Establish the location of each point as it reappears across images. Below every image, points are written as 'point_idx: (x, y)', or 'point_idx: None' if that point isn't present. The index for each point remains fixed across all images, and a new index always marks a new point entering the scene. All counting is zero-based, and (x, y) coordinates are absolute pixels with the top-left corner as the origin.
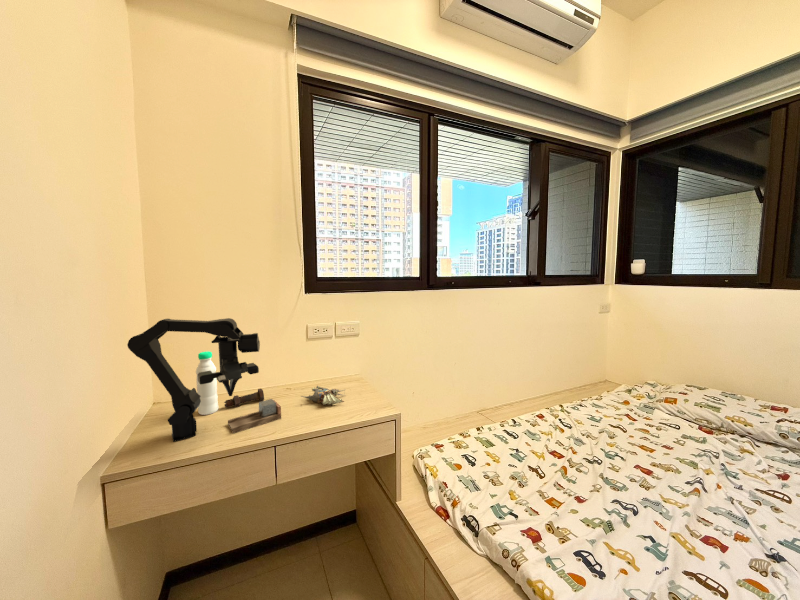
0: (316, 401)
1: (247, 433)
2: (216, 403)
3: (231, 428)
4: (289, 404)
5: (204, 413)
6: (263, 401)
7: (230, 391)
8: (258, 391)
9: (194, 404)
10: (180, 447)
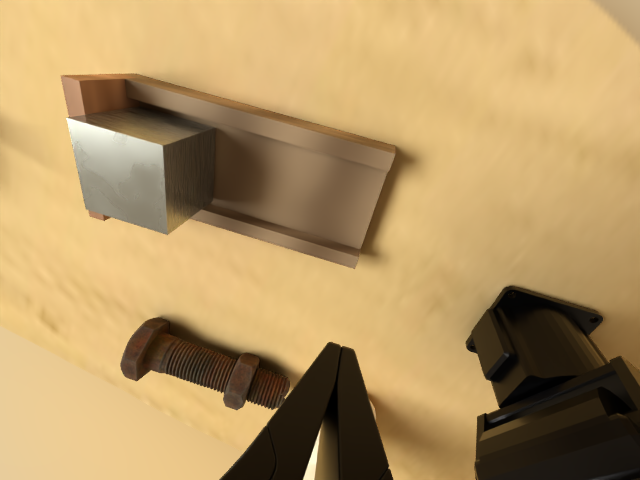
0: None
1: (347, 67)
2: None
3: (381, 187)
4: (66, 195)
5: None
6: (139, 219)
7: (337, 394)
8: (142, 367)
9: (622, 467)
10: (633, 243)
